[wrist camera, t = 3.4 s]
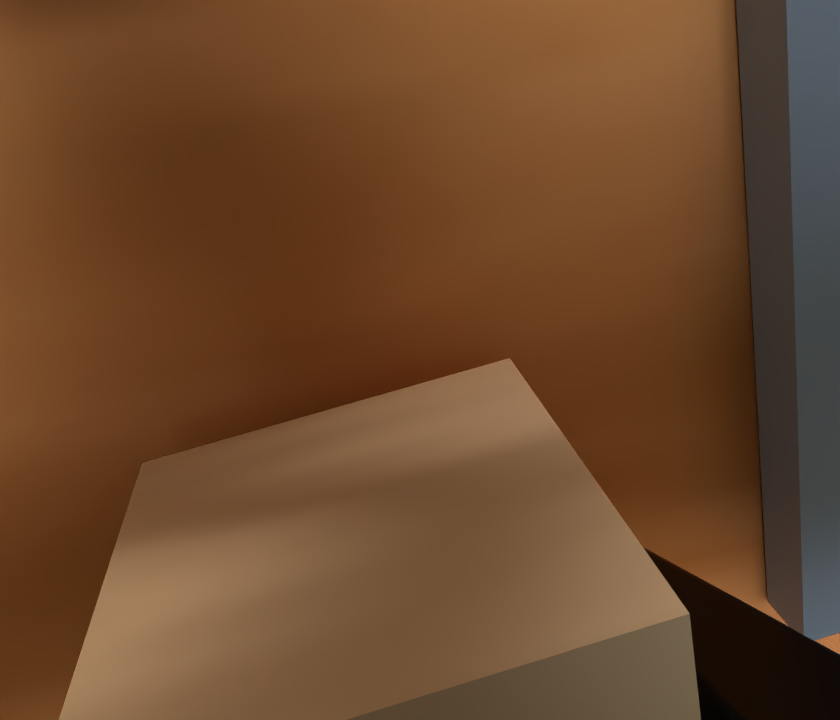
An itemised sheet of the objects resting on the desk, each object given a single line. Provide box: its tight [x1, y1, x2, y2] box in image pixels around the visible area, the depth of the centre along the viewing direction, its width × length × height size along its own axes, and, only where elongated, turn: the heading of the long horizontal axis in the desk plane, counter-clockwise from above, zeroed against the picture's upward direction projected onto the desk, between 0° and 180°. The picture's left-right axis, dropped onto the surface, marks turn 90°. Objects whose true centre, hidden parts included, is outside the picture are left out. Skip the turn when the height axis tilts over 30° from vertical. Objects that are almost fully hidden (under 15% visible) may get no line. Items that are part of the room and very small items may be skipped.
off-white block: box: [59, 358, 701, 720], centre depth 8 cm, size 4×4×4 cm
